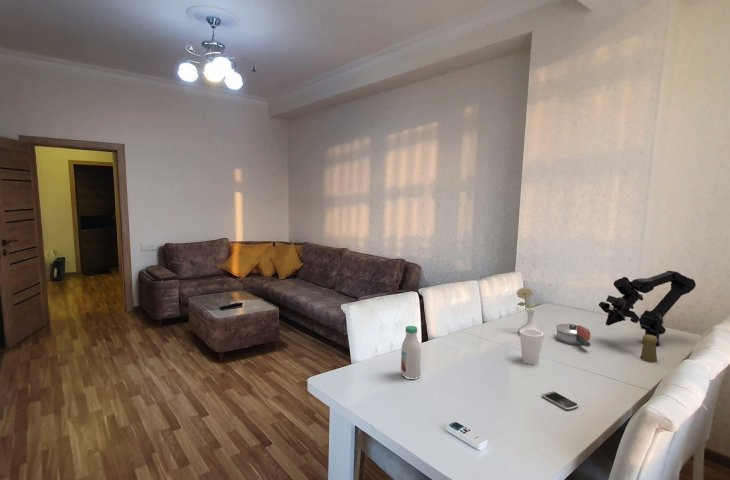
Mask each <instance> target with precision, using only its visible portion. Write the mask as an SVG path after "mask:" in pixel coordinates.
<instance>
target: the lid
mask: <svg viewBox="0 0 730 480" xmlns="http://www.w3.org/2000/svg"><path fill="white" fill-rule="evenodd" d="M555 328H556V331H557V330H558V331H560V332H562V333H566V334H570V335H578V336H581V337H582V338H584V339H585V340H588V341H590V340H591V330H590V329H589V328H587V327H584V326H582V325H580V324H579V325H578V324H573V323H560V324H557V325H556V327H555Z"/></svg>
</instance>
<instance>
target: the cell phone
mask: <svg viewBox="0 0 730 480" xmlns="http://www.w3.org/2000/svg"><path fill="white" fill-rule="evenodd" d="M540 397H541V398H543V399H544V400H546V401H548V402H550V403H551V404H553V405H554V406H557V407H558V408H561V409H562V410H564V411H566V412H569V411H573V410H576V409H578V407H579V404H578V403H576V402H575V401H573V400H571V399H570V398H567V397H565V396H563V395H562V394H559V393H558V392H556V391H551V392H547V393H543V394H540Z"/></svg>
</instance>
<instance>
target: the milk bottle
mask: <svg viewBox="0 0 730 480" xmlns="http://www.w3.org/2000/svg"><path fill="white" fill-rule="evenodd" d="M417 334H418V327H417V326H414V325H407V326H405V338H404V340H403V342H402V344H401V353H400V354H401V359H400V365H401V366H400V375H401V374H402V375H404V376H406V377H409V378H416V377H419V376H420V377H421V372H422V371H421V369H422V368H421V364H422V363H421V360H422V356H421V355H422V352H421V351H422V350H421V349H422V348H421V343H420V341H419V339H418V335H417ZM402 375H401V376H402ZM420 377H419V378H420Z"/></svg>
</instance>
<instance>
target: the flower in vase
mask: <svg viewBox="0 0 730 480" xmlns="http://www.w3.org/2000/svg"><path fill="white" fill-rule="evenodd" d="M515 293H516V296H517V297H518V298H519V299H523V300H524V302H523V301H520V302H518V303H517V306H521V307H524V306H526V308H525V311H526V313H527V322H526V323H525V324H523V325H521V326H520V327H519V328H518V329H517V332H518V333H519V334H520V330H522V329H534V330H538V331H541V330H540V329H539V327H538V326H536V325H535V324H534V323H533V316H534V313H535V312H536V308H533V307H534V306H536V304H537V302H534V303H529V305H528V304H527V299H530V298H531V297H532V296H533V291H532V289H530V288H529V287H521V288H519V289H518V290H517V291H516V292H515Z"/></svg>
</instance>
